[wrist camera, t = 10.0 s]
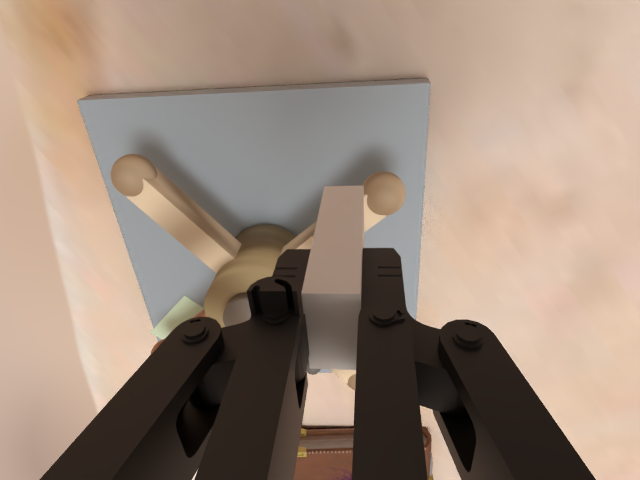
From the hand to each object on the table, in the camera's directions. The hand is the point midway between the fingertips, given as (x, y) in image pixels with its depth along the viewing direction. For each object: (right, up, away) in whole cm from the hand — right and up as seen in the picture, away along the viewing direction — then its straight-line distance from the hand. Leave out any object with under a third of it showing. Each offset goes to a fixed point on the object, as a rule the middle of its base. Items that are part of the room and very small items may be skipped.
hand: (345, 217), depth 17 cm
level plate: (-5, -1, +17) cm, 17 cm away
